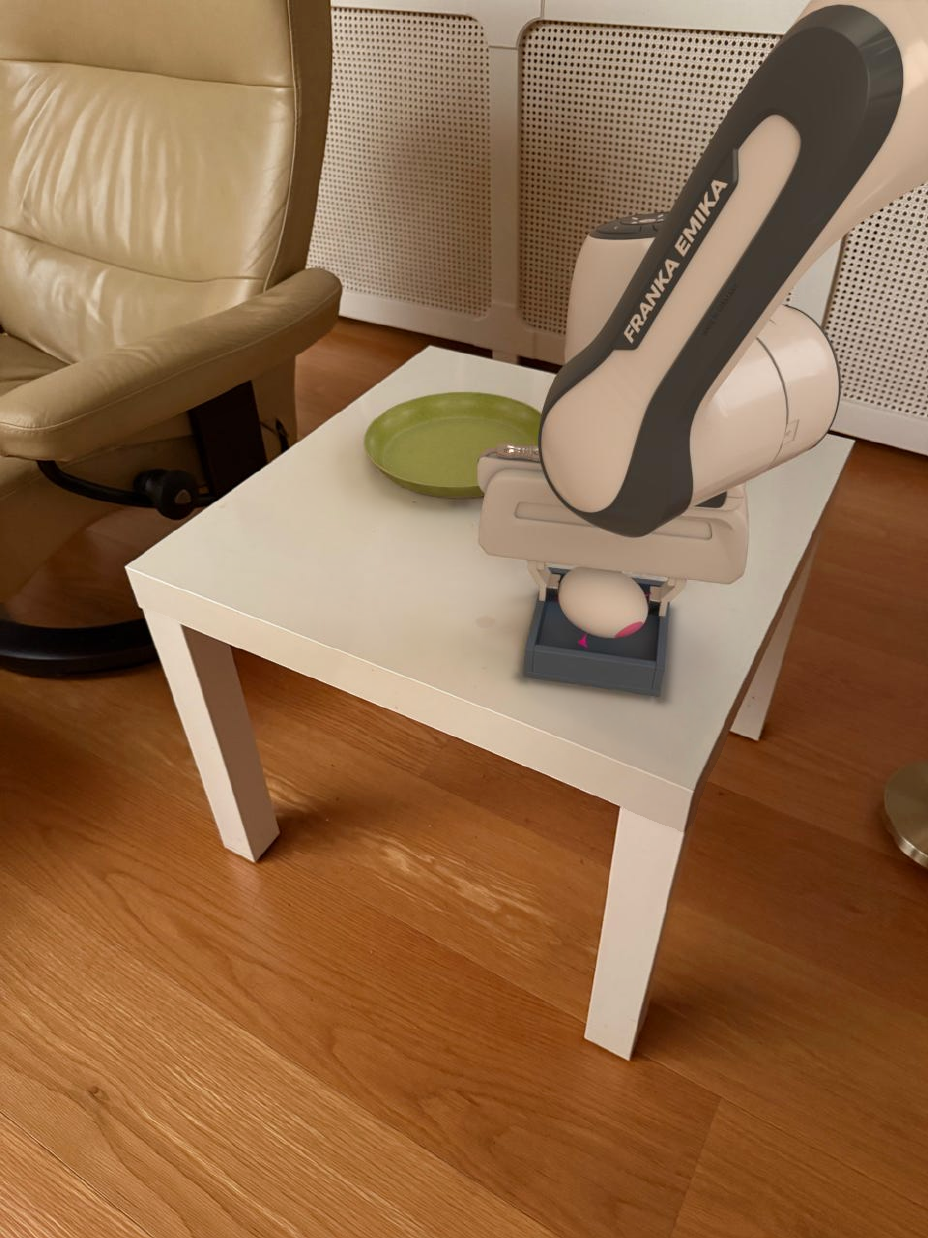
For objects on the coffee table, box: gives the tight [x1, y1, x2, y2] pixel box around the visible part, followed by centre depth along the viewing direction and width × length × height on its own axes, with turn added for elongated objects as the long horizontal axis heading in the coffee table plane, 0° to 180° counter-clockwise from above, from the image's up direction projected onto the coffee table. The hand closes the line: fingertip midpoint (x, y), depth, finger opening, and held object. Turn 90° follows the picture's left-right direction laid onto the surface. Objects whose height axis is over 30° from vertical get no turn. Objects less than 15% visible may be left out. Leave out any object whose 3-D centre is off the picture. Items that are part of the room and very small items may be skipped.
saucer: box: [363, 391, 542, 499], centre depth 96 cm, size 21×21×3 cm
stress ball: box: [558, 566, 649, 648], centre depth 72 cm, size 8×8×7 cm
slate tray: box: [523, 566, 671, 697], centre depth 73 cm, size 11×11×3 cm
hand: (602, 604), depth 71 cm, fingers closed on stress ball, 7 cm apart
